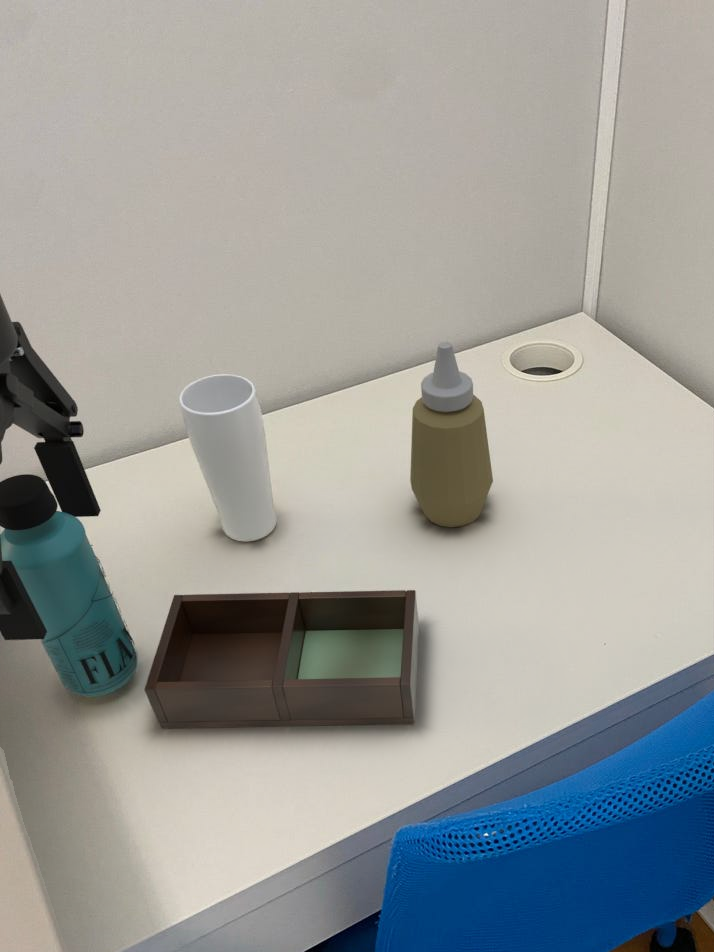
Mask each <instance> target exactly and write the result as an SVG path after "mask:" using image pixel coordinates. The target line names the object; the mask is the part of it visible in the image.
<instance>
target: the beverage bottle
mask: <svg viewBox="0 0 714 952" xmlns="http://www.w3.org/2000/svg"><path fill="white" fill-rule="evenodd" d="M58 507H59V504H58V502H57V499H56V497H55V495H54V493H53V492H52V491H51V489H50V487H49V486H48V484H47V482H46V481H45V480H44V478H42V477H41V476H39V475H36V474H29V473H24V474H17V475H13V476H10V477H8V478H5V479H3V480H1V481H0V528H3V529H2V532H0V537H1V551H2V561H12V563H13V565H14V567H15V569H16V571H17V573H18V575H19V577H20V579H21V581H22V583H23V585H24V587H25V589H26V591H27V593H28V595H29V597H30V598H31V600H32V602H33V604H34V606H35V608H36V610H37V612H38V614H39V616H40V618H41V620H42V622H43V624H44V626H45V628H46V630H47V633H46V636H45V638H44V639H40V643H41V645H42V647H43V649H44V651H45V652H46V654H47V656H48V658H49V659H50V662H51V664H52V666H53V667H54V670H55V672H56V673H57V675H58V678H59V679H60V681H61V683H62V685H63V686H64V687H65V688H66V689H67V690H69V691H70V692H72V693H73V694H76V695H78V696H82V697H101V696H105V695H107V694H110V693H113V692H115V691H117V690H119V689H121V688H122V687H124V685H126V684H127V683H128V682H129V681H130V680H131V678H132V677H133V676H134V675H135V673H136V670H137V667H138V658H139V657H138V653H139V652H138V650H137V647H136V646H135V642H134V639H133V637H132V636H131V633H130V630H129V627H128V625H127V624H126V620H125V619H123V618H122V615H121V612H122V611H121V608H120V607H119V604H118V601H117V599H115V596H114V591H113V590H112V588H111V587H110V586H111V584H110V582H109V581H108V582H107V579H106V578H107V575H106V572H105V569H104V566H103V565H102V563H101V561H100V558H98V557H99V556H98V554H97V556H96V554H95V551H94V548H93V546H94V545H93V544H91V542H90V540H89V538H88V536H87V533H86V529H85V526H84V524H83V523H82V521H81V520H80V519H79V518H78V517H74V516H73V515H70V514H68V513H64V512H62V511H61V510H58ZM111 591H112V592H111ZM134 646H135V647H134Z"/></svg>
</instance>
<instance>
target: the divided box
mask: <svg viewBox="0 0 714 952" xmlns="http://www.w3.org/2000/svg"><path fill="white" fill-rule="evenodd" d="M417 601H418V600H417V591H416V590H415V589H408V590H407V589H402V590H401V589H399V590H398V589H397V590H352V591H350V590H347V591H345V590H344V591H305V592H304V591H302V592H301V591H300V592H299V591H296V592H294V591H293V592H292V591H291V592H251V593H248V592H247V593H203V594H202V593H197V594H174V595H173V598H172V600H171V604H170V607H169V609H168V610H169V611H168V614H167V616H166V620H165V623H164V626H163V629H162V633H161V636H160V638H159V642H158V644H157V648H156V652H155V655H154V657H153V662H152V665H151V667H150V670H149V673H148V677H147V680H146V683H145V686H144V689H143V690H144V692H145V695H146V697H147V700H148V702H149V704H150V707H151V709H152V711H153V714H154V716H155V718H156V720H157V723H158V725H159V727H160V729H192V728H193V729H196V728H198V729H199V728H200V729H201V728H202V729H204V728H250V727H251V728H252V727H253V728H255V727H304V726H351V725H353V726H357V725H358V726H359V725H401V724H403V725H405V724H406V725H409V724H415V723H416V722H415V721H416V705H417V703H416V702H417V681H418V664H419V663H418V660H419V644H420V643H419V642H420V641H419V640H420V625H419V623H420V621H419V613H418V602H417Z"/></svg>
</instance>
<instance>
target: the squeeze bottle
mask: <svg viewBox="0 0 714 952" xmlns="http://www.w3.org/2000/svg"><path fill="white" fill-rule="evenodd" d="M435 356H436V357H435V361H434V367H433V372H430V373H429V374H428V375H426V376H424V377H423V379H422V380H421V382H420V389H421V390H420V391H421V397H420V398H418V399H417V400H416V401H415V403H414V405H413V407H412V419H411V446H410V447H411V448H410V450H411V451H410V475H409V477H410V480H409V481H410V487H411V491H412V493H413V494H414V496H415V499H416V501H417V503H418V504H419V506H420V508H421V510H422V512H423V514H424V516H425V518H427V519H428V521H430V522H431V523H434V524H435V525H438V526H441V527H447V528H456V527H464V526H466V525H469V524H471V523H473V522H475V520H476V519H478V518H479V517H480V516H481V513H482V511H483V508H484V506H485V503H486V501H487V498H488V495H489V493H490V490H491V487H492V485H493V482H494V478H493V470H492V463H491V454H490V447H489V440H488V432H487V425H486V424H487V423H486V416H485V409H484V405H483V401H482V400H481V399H480V398H479V397H477V396H476V395H475V394H474V383H473V379H472V378H471V377H470V376H469V375H468V374H467V373H465V372H462V371H460V370H459V367H458V363H457V359H456V356H455V351H454V348H453V344H452V343H451V342H449V341H441V342H439V343H438V345H437V350H436V355H435Z"/></svg>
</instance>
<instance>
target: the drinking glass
mask: <svg viewBox="0 0 714 952" xmlns="http://www.w3.org/2000/svg"><path fill="white" fill-rule="evenodd" d="M178 403H179V407H180V412H181V416H182V420H183V424H184V428H185V432H186V434H187V438H188V440H189V443H190V446H191V448H192V451H193V454H194V457H195V459H196V461H197V463H198V466H199V469H200V471H201V474H202V477H203V479H204V481H205V484H206V486H207V489H208V492H209V494H210V497H211V499H212V502H213V504H214V508H215V510H216V512H217V515H218V517H219V518H218V519H219V522H220V525H221V528H222V531H223V532H224V534H225V535H226V536H227V537H228V538H230V539H232V540H234V541H238V542H254V541H258V540H260V539H263V538H265V537H266V536H268V535H270V534H271V533H272V532H273V530H274V529H275V527H276V525H277V520H278V518H277V512H276V508H275V502H274V495H273V488H272V486H273V485H272V480H271V470H270V462H269V461H270V460H269V453H268V445H267V438H266V430H265V423H264V418H263V414H262V409H261V405H260V401H259V398H258V394H257V391H256V387H255V385H254V384H253V382H252V381H251V380H249V379H248V378H246V377H243V376H240V375H237V374H230V373H221V374H220V373H219V374H213V375H212V374H211V375H208V376H203V377H201V378H199V379H196V380H194V381H192V382H190V383H189V384H187V385H186V386H185V387H184V388H183V389H182V390H181V392H180V394H179V397H178Z"/></svg>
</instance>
